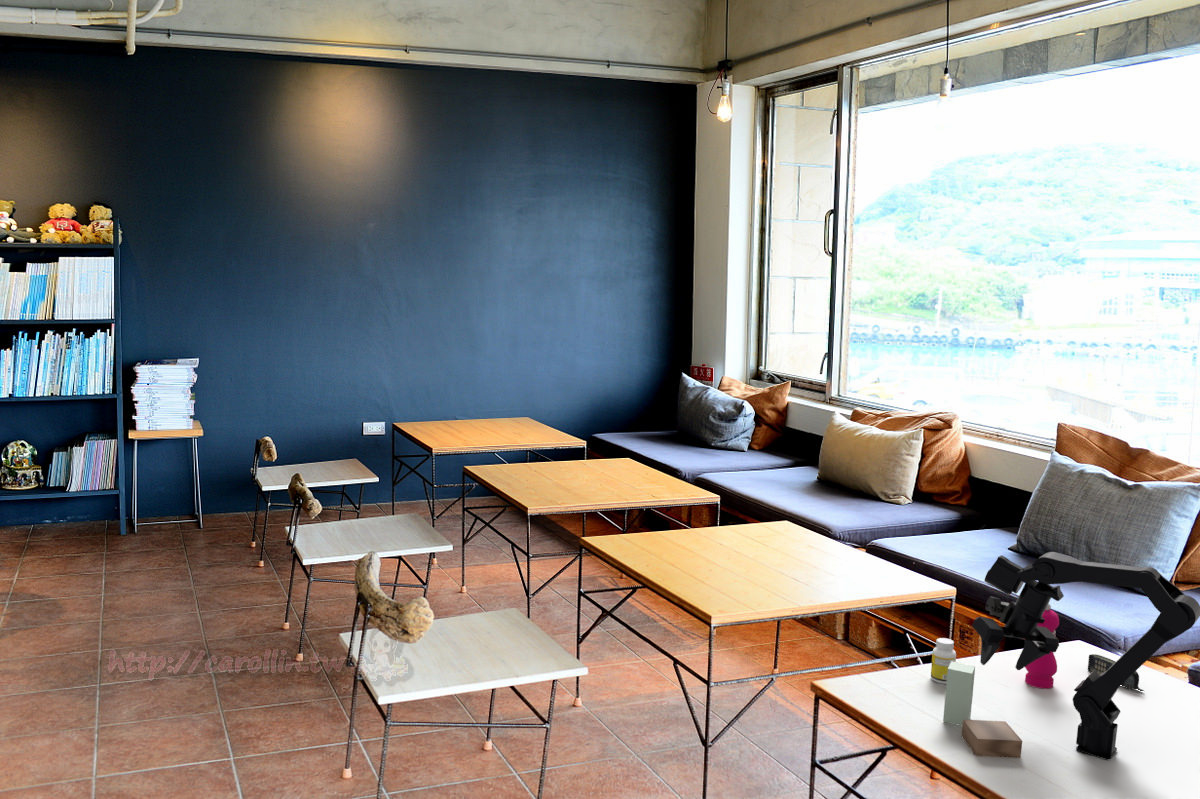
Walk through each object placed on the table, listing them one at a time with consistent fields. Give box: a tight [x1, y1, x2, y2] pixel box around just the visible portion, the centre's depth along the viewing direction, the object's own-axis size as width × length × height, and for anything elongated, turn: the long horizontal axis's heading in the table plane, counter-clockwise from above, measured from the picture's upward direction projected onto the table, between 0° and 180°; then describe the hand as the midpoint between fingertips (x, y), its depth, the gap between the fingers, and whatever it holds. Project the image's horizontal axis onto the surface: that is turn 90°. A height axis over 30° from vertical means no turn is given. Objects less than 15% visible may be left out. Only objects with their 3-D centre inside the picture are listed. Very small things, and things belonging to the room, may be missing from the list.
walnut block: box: [960, 719, 1023, 759], centre depth 214 cm, size 9×9×4 cm
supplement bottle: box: [930, 637, 957, 685], centre depth 249 cm, size 5×5×10 cm
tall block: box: [942, 661, 976, 726], centre depth 226 cm, size 5×5×12 cm
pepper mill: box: [1024, 603, 1060, 690], centre depth 248 cm, size 7×7×20 cm
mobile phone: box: [1087, 653, 1145, 692], centre depth 253 cm, size 5×3×15 cm
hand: (999, 666), depth 226 cm, fingers open, 9 cm apart
